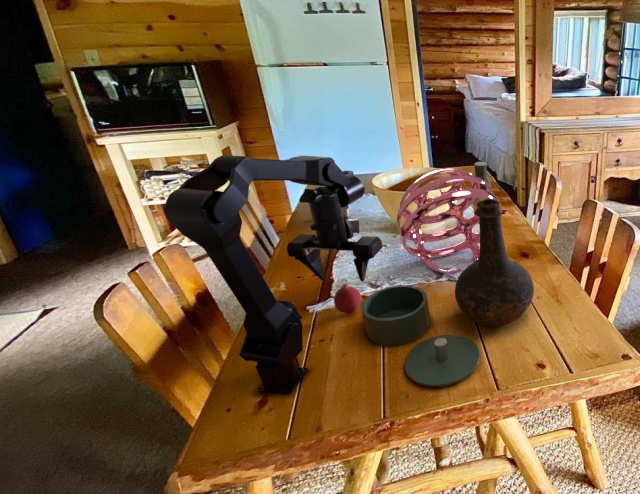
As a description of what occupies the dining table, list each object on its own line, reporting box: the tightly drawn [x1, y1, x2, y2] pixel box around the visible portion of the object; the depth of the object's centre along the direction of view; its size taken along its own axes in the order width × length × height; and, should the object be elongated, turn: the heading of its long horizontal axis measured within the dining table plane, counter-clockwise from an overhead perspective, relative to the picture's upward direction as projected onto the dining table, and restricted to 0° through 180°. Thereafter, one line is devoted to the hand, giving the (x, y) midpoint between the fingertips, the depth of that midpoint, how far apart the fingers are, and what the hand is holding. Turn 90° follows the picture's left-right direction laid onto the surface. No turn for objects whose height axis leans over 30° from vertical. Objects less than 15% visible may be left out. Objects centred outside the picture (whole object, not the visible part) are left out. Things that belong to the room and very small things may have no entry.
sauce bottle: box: [472, 161, 492, 216], centre depth 147 cm, size 7×6×20 cm
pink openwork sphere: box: [396, 168, 503, 275], centre depth 118 cm, size 28×28×27 cm
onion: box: [333, 282, 363, 315], centre depth 101 cm, size 6×6×8 cm
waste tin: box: [361, 284, 431, 347], centre depth 97 cm, size 14×14×6 cm
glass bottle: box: [454, 199, 535, 327], centre depth 96 cm, size 18×18×28 cm
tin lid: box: [404, 334, 481, 388], centre depth 87 cm, size 15×15×5 cm
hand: (343, 279), depth 99 cm, fingers open, 9 cm apart
